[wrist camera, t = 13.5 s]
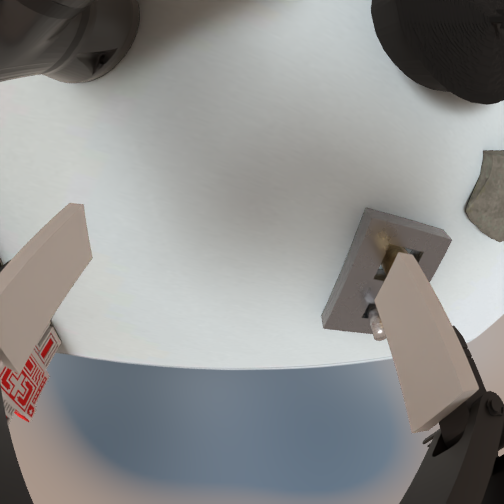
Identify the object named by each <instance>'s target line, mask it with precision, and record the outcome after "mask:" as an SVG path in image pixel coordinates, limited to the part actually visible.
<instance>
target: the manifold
mask: <svg viewBox="0 0 504 504" xmlns="http://www.w3.org/2000/svg"><path fill="white" fill-rule="evenodd" d="M451 241H452V239H451V238H450V237H449V236H448V235H447V234H446V232H445V231H444V230H442V229H439V228H436V227H433V226H429V225H426V224H423V223H419V222H416V221H413V220H409V219H406V218H402V217H399V216H395V215H392V214H388V213H384V212H381V211H377V210H373V209H369V208H365V210H364V213H363V216H362V219H361V221H360V224H359V227H358V229H357V232H356V235H355V237H354V240H353V242H352V245H351V247H350V250H349V252H348V255H347V257H346V260H345V262H344V265H343V267H342V270H341V272H340V274H339V277H338V279H337V281H336V284H335V286H334V288H333V291H332V293H331V295H330V297H329V300H328V302H327V304H326V306H325V308H324V311H323V313H322V315H321V316H322V323H323V328H324V329H332V330H340V331H349V332H358V333H368V334H373V336H374V339H375V340H377V341H381V340H384V339H386V338H387V337H386V334H385V331H384V328H383V325H382V322H381V319H380V316H379V313H378V310H377V307H376V304H375V301H374V300H375V298H376V296H377V294H378V292H379V291H380V289H381V287H382V285H383V283H384V281H385V279H386V277H387V276H386V274H385V272H384V270H381V269H379V266H380V264H381V262H382V260H383V258H384V256H385V254H386V251H387V249H388V247H389V245H390V244H392V245H396V246H401V247H405V248H409V249H412V251H411V253H410V254H412V255H413V256H414V258H415V259H416V261H417V262H418V264H419V266H420V267H421V269H422V271H423V273H424V274H425V276H426V278H427V279H428V281H429V282H430V281H431V279H432V277H433V275H434V274H435V272H436V270H437V268H438V266H439V264H440V263H441V261H442V259H443V257H444V255H445V253H446V251H447V249H448V247H449V245H450V243H451Z"/></svg>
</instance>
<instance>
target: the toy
mask: <svg viewBox="0 0 504 504" xmlns="http://www.w3.org/2000/svg"><path fill="white" fill-rule="evenodd" d="M50 324H51V322H49V323H48V325H47V327H46V328H45V330H44V332H43V333H42V335H41V337H40V338H39V340H38V342H37V344H36V345H35V347H34V349H33V351H32V353H31V354H30V356H29V358H28V360H27V362H26V364H25V366H24V367H23V369H22V371H21V373H20V374H18V373H16V372H14V371H13V370H11V369H9V368H7V367H6V366H5V365H4V364H3V363H2V361H1V360H0V384H1V391H2V397H3V403H4V408H5V414H6V419H7V423H8V425H9V423H10V421H11V419H12V416H13V414H14V413H15V414H17V415H18V416H19V417H20V418H22V419H24V420H26V421H28V422H29V421H31V420H32V418H33V416H34V414H35V412H36V406H35V405H36V402H37V401H38V399H39V397H40V395H41V392H42V390H43V388H44V386H45V384H46V382H47V380H48V379H49V377H50V376H49V374H48V372H47V371H46V369H47V367H48V365H49V363H50V362H51V360H52V358H53V356H54V354H55V353H56V351H57V349H58V347H59V346H60V344H61V341H60V339H59V337H58V335H57V334H56V332H55V330H54V328H53V327H52V326H49V325H50Z"/></svg>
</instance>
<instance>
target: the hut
mask: <svg viewBox="0 0 504 504" xmlns="http://www.w3.org/2000/svg"><path fill="white" fill-rule="evenodd" d="M371 14H372V19H373V23H374V28H375V32H376V34H377V37H378V39H379V41H380V43H381V45H382V47H383V49H384V51H385V52H386V53H387V55H388V56H389V57H390V59H391V60H392V61H393V63H394V64H395V65H396V66H397V67H398V68H399V69H400V70H401V71H402V72H403V73H404V74H405V75H407V76H408V77H409V78H411V79H412V80H413V81H415V82H416V83H418V84H420V85H423V86H425V87H427V88H430V89H433V90H440V91H447V92H452V93H453V94H455V95H457V96H458V97H460V98H462V99H465V100H467V101H470V102H474V103H481V104H494V103H498V102H500V101H503V100H504V0H372V5H371Z"/></svg>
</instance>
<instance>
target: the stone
mask: <svg viewBox="0 0 504 504" xmlns="http://www.w3.org/2000/svg"><path fill="white" fill-rule="evenodd" d="M483 153H484V155H483V163H482V167H481V174H480V177H479V179H478V181H477V184H476V186H475V188H474V191H473V193H472V196H471V198H470V200H469V202H468V205H467V208H466V213H467V215H468V217H469V219H470V220H471V222H472V223H473V224H475V225H477V226H478V228H479V229H480V231H481V232H482V233H484V234H485V235H487V236H488V237H490V238H491V239H495V240H496V241H498V242H502V241H504V150H501V151H498V150H497V151H493V150H489V151H487V150H485V151H483Z"/></svg>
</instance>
